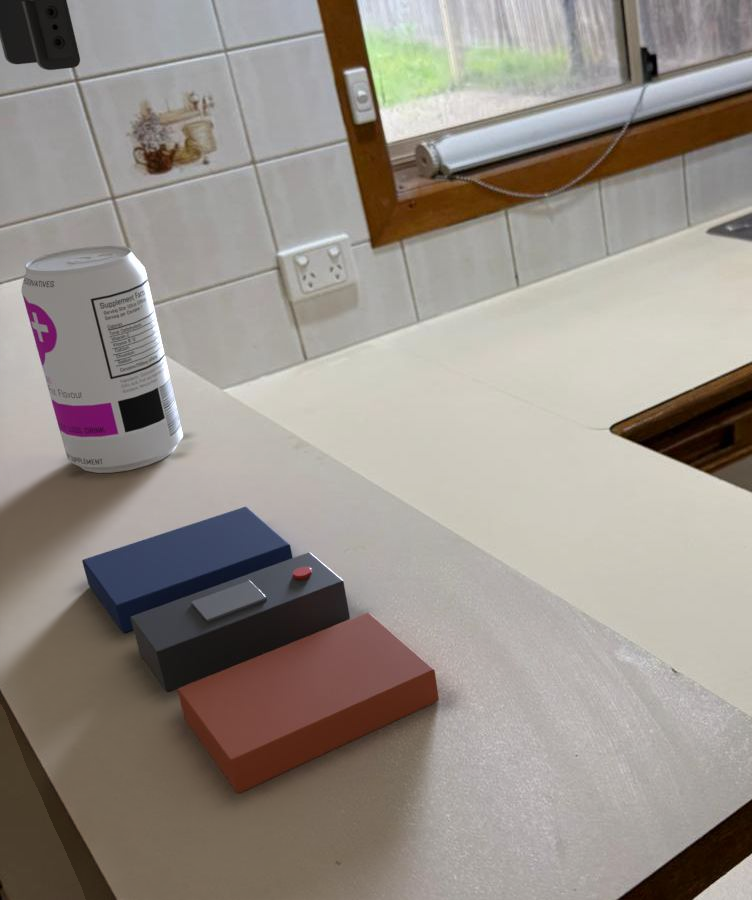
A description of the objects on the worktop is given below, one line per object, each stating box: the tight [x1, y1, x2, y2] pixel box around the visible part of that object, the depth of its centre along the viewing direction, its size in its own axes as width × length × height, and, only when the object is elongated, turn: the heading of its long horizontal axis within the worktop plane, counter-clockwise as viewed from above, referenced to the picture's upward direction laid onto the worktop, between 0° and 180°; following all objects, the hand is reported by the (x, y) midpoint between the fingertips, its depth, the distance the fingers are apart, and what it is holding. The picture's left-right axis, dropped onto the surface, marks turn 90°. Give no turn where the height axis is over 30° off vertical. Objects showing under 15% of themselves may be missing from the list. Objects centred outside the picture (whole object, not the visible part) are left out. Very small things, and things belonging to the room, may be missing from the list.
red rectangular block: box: [177, 612, 440, 794], centre depth 54 cm, size 7×10×2 cm
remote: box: [130, 551, 351, 693], centre depth 60 cm, size 10×4×3 cm, turn 127°
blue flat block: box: [81, 506, 294, 634], centre depth 67 cm, size 7×10×2 cm
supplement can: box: [21, 244, 184, 474], centre depth 83 cm, size 8×8×15 cm
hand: (43, 65), depth 69 cm, fingers open, 8 cm apart
